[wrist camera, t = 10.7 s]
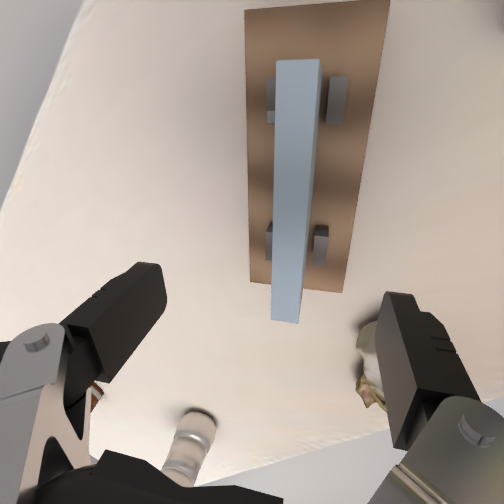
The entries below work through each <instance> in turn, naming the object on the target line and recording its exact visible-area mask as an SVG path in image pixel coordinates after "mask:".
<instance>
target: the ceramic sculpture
mask: <svg viewBox="0 0 504 504" xmlns="http://www.w3.org/2000/svg"><path fill="white" fill-rule="evenodd" d="M377 321H378V320H376V321H373V322H370V323H368V324H367V325H365V326H364V327H363V328H362V329H361V331H360V333H359V335H358V338H357V343H356V348H357V350H358V351H359V353H360V355H362V357H363V361H364V367H363V370H364V372H363V374H362V375H361V376H360V378H359V379H358V380H357V382H356V391H357V393H358V394H359V395H360V396H361V397H362V399H363V401H364V404H365V406H366V408H368V407H369V406H370V405H371V404H373V403H375V402H377V403H378V404H379V406H380V407H381V408H382V409H383V410H384V411H385V412H387V409H386V404H385V398H384V393H383V387H382V382H381V376H380V371H379V365H378V360H377V354H376V349H375V329H376V324H377Z"/></svg>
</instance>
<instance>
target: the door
mask: <svg viewBox="0 0 504 504" xmlns="http://www.w3.org/2000/svg"><path fill="white" fill-rule="evenodd" d="M322 80H323V71H322V67H321V63H320V59H302V60H279V61H276V97H275V109H274V110H270V111H267V123H275V145H274V192H273V239H272V287H271V320H276V321H283V322H290V323H296V324H298V321H299V313H300V306H301V299H302V291H303V284H304V276H305V269H306V262H307V253H308V241H309V230H310V218H311V207H312V195H313V184H314V172H315V161H316V149H317V138H318V126H319V115H320V103H321V92H322Z"/></svg>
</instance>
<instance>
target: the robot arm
mask: <svg viewBox="0 0 504 504" xmlns="http://www.w3.org/2000/svg"><path fill="white" fill-rule="evenodd" d="M166 304H167V294H166V289H165V284H164V279H163V274H162V269H161V266H160V265H159V264H155V263H146V262H137V263H136V264H135V265H133V266H132V267H131V268H130V269H129V270H128V271H127V272H125V273H123V274H121V275H119V276H117V277H115V278H113V279H111V280H110V281H109V282H107V283H106V284H105V285H104V286H103V287H101V289H100V290H98V291H97V292H96V293H94V294H93V295H92V297H90V298H88V299H87V300H86V301H85V302H84V303H83V304H81V305H80V306H79V307H78V308H77V309H75V310H74V311H73V312H72V313H71V314H70V315H68V316H67V317H66V318H65V319H64V320H62V321H61V322H60V323H59V324H55V323H49V324H42V325H39V326H35V327H33V328H30V329H28V330H26V331H24V332H23V333H21V334H20V335H18V336H17V337H16V338H14V339H13V340H12V341H7V342H0V504H283V498H279V497H276V496H272V495H269V494H265V493H261V492H258V491H254V490H251V489H246V488H243V487H239V486H236V485H232V486H231V485H230V486H207V487H183V486H181V485H179V484H177V483H176V482H175V481H173V480H172V479H170V478H169V477H168V476H166V475H165V474H163V473H162V472H161V471H159V470H158V469H156V468H155V467H154V466H152V465H151V464H149V463H148V462H147V461H145V460H142V459H139V458H135V457H131V456H128V455H124V454H120V453H117V452H113V451H110V450H105V451H104V453H103V455H102V456H101V458H100V459H99V461H98V463H97V464H94V465H91V460H90V455H89V431H90V411H91V390H90V386H91V384H92V383H93V382H94V381H95V380H96V381H100V382H105V383H110V382H111V381H112V379H113V378H114V377H115V376H116V374H117V373H118V372H119V370H120V369H121V368H122V366H123V365H124V364H125V362H126V361H127V360H128V358H129V357H130V356H131V355H132V353H133V352H134V351H135V349H136V348H137V347H138V345H139V344H140V343H141V341H142V340H143V339H144V337H145V336H146V335H147V333H148V332H149V331H150V330H151V328H152V327H153V326H154V324H155V323H156V322H157V320H158V319H159V318H160V316H161V315H162V314H163V312H164V310H165V308H166ZM375 349H376V354H377V360H378V365H379V371H380V376H381V382H382V387H383V393H384V398H385V404H386V409H387V415H388V420H389V426H390V431H391V437H392V442H393V448H396V449H401V450H405V451H408V452H407V454H406V455H405V457H404V458H403V459H402V461H401V462H400V464H399V465H395V466H394V467H393V468H392V470H391V471H390V472H389V474H388V475H387V476H386V478H385V479H384V481H383V482H382V484H381V485H380V486H379V488H378V489H377V491H376V492H375V494H374V495H373V497H372V498H371V499H370V501H369V502H368V504H504V418H503V417H502V416H501V415H500V414H498V413H497V412H496V411H495V410H493V409H492V408H490V407H489V406H487V405H485V404H483V403H482V402H481V400H480V398H479V396H478V394H477V392H476V390H475V388H474V386H473V384H472V382H471V380H470V378H469V376H468V374H467V372H466V370H465V368H464V366H463V364H462V362H461V360H460V358H459V356H458V354H456V349H455V347H454V345H453V343H452V342H450V337H449V335H448V333H447V331H446V329H445V327H444V325H443V324H442V323H441V322H440V321H438V320H437V319H436V318H435V317H434V316H433V315H432V314H431V313H429V312H421V311H420V310H419V308H418V305H417V303H416V300H415V298H414V296H413V295H412V294H405V293H397V292H388V291H386V292H385V294H384V297H383V301H382V305H381V309H380V313H379V317H378V321H377V324H376V329H375Z"/></svg>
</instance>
